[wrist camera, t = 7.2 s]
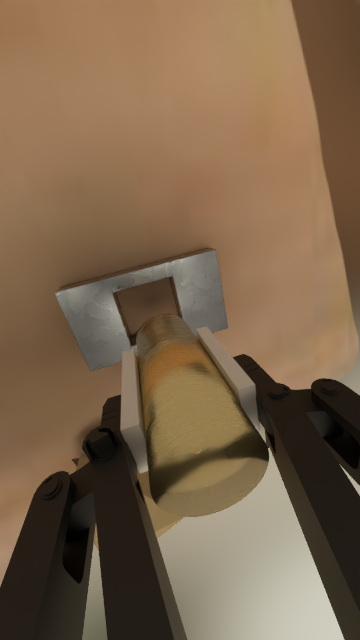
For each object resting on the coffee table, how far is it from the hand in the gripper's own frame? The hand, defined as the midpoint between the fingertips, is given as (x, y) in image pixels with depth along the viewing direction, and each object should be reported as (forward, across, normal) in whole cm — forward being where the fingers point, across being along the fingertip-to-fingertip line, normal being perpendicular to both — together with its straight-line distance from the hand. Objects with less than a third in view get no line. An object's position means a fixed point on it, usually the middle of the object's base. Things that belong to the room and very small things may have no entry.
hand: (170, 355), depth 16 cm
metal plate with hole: (+12, 0, 0) cm, 12 cm away
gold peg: (+3, 0, 0) cm, 3 cm away
